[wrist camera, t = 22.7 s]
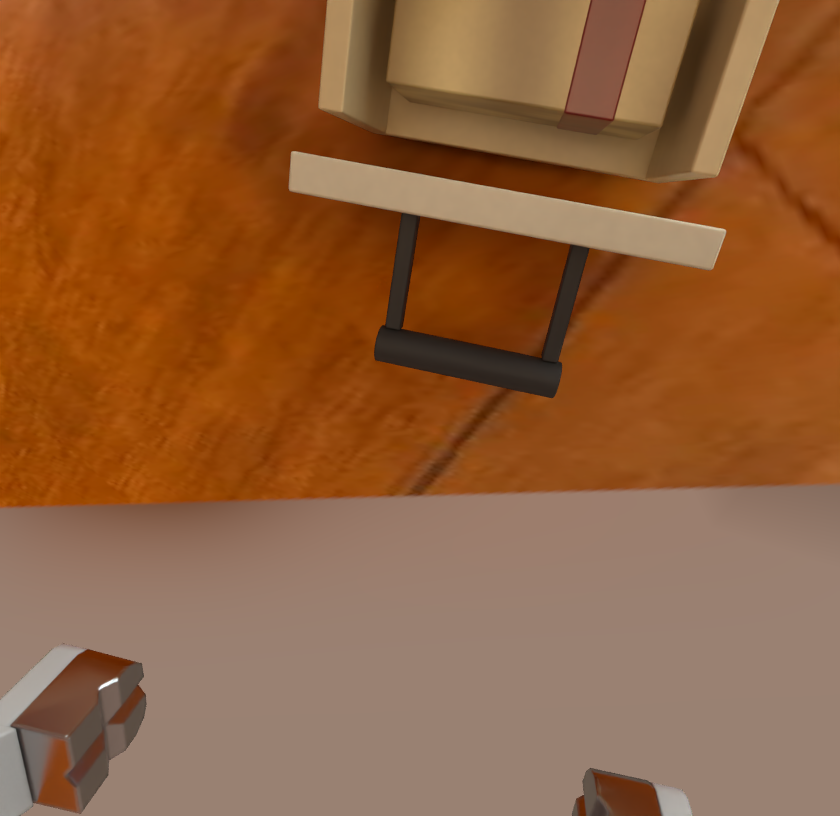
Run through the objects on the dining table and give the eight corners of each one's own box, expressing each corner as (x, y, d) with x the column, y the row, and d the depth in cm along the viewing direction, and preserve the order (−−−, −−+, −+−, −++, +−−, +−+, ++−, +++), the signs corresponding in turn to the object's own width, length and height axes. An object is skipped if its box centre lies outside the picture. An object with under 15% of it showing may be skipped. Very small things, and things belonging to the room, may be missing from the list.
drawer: (614, 375, 25) (650, 440, 18) (337, 317, 26) (276, 358, 20) (819, -255, 17) (1017, -551, 10) (405, -297, 18) (339, -585, 11)
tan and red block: (675, 7, 19) (713, -40, 15) (636, 142, 21) (662, 129, 17) (426, -28, 20) (404, -81, 16) (408, 103, 22) (384, 83, 18)
